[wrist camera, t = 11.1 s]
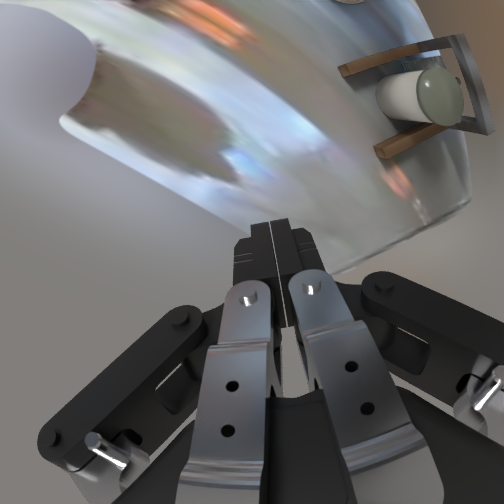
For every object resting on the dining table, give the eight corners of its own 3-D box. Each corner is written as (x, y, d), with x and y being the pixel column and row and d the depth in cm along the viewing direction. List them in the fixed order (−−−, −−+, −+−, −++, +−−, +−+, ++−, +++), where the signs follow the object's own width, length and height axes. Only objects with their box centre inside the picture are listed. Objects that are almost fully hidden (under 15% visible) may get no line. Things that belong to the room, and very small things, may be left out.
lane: (337, 67, 29) (380, 51, 19) (414, 43, 27) (463, 33, 18) (377, 156, 34) (425, 171, 25) (445, 122, 33) (495, 131, 23)
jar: (366, 84, 30) (413, 77, 21) (400, 68, 29) (449, 60, 20) (388, 128, 33) (437, 135, 23) (420, 109, 32) (469, 114, 22)
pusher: (401, 62, 28) (435, 56, 21) (426, 55, 27) (461, 50, 21) (423, 118, 32) (458, 122, 25) (446, 107, 31) (481, 111, 24)
